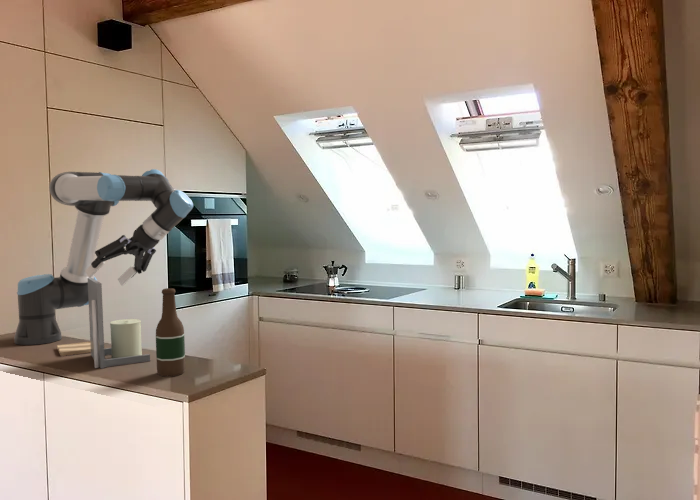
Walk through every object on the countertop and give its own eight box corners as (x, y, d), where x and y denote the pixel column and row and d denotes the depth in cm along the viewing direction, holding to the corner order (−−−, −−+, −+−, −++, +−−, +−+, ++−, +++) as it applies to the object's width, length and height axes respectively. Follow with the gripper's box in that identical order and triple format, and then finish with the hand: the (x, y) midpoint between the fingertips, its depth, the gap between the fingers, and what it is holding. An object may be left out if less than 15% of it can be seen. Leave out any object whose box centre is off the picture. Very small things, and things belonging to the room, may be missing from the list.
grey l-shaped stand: (86, 356, 198) (82, 278, 197) (137, 349, 206) (134, 274, 204) (95, 369, 181) (91, 284, 179) (151, 361, 189) (148, 280, 187)
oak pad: (57, 348, 210) (57, 345, 210) (98, 343, 216) (98, 340, 216) (61, 356, 199) (60, 352, 198) (104, 350, 205) (104, 347, 205)
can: (113, 362, 189) (111, 323, 188) (109, 356, 197) (108, 319, 196) (144, 359, 193) (143, 320, 192) (139, 353, 201) (138, 316, 200)
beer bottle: (158, 378, 170) (155, 291, 168) (155, 371, 177) (152, 288, 176) (187, 374, 173) (184, 289, 171) (183, 368, 180) (180, 286, 179)
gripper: (127, 230, 176) (77, 279, 179) (182, 250, 199) (137, 294, 202) (116, 212, 180) (68, 261, 183) (172, 233, 202) (127, 277, 205)
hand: (104, 278), depth 192 cm, fingers open, 13 cm apart
